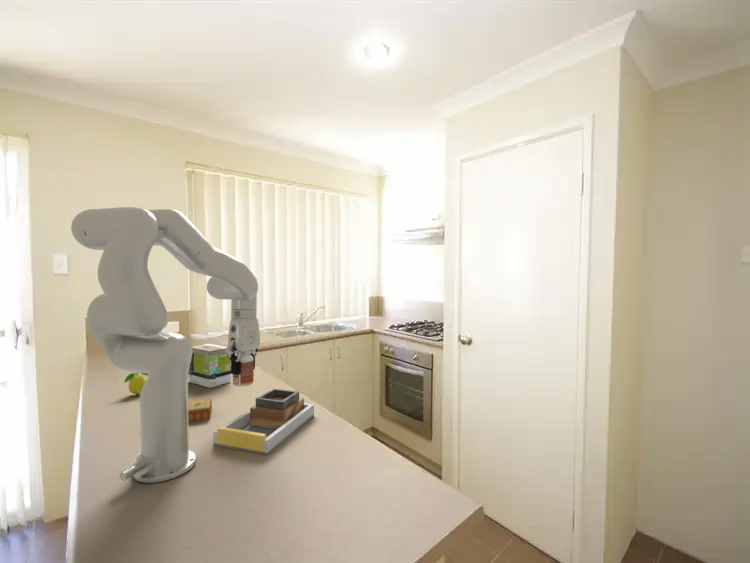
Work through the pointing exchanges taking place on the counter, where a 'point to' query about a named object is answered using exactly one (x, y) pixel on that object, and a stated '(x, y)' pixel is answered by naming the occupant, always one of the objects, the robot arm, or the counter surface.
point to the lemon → (136, 382)
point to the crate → (275, 408)
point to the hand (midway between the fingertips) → (243, 370)
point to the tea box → (209, 366)
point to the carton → (199, 409)
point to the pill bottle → (245, 370)
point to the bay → (259, 432)
